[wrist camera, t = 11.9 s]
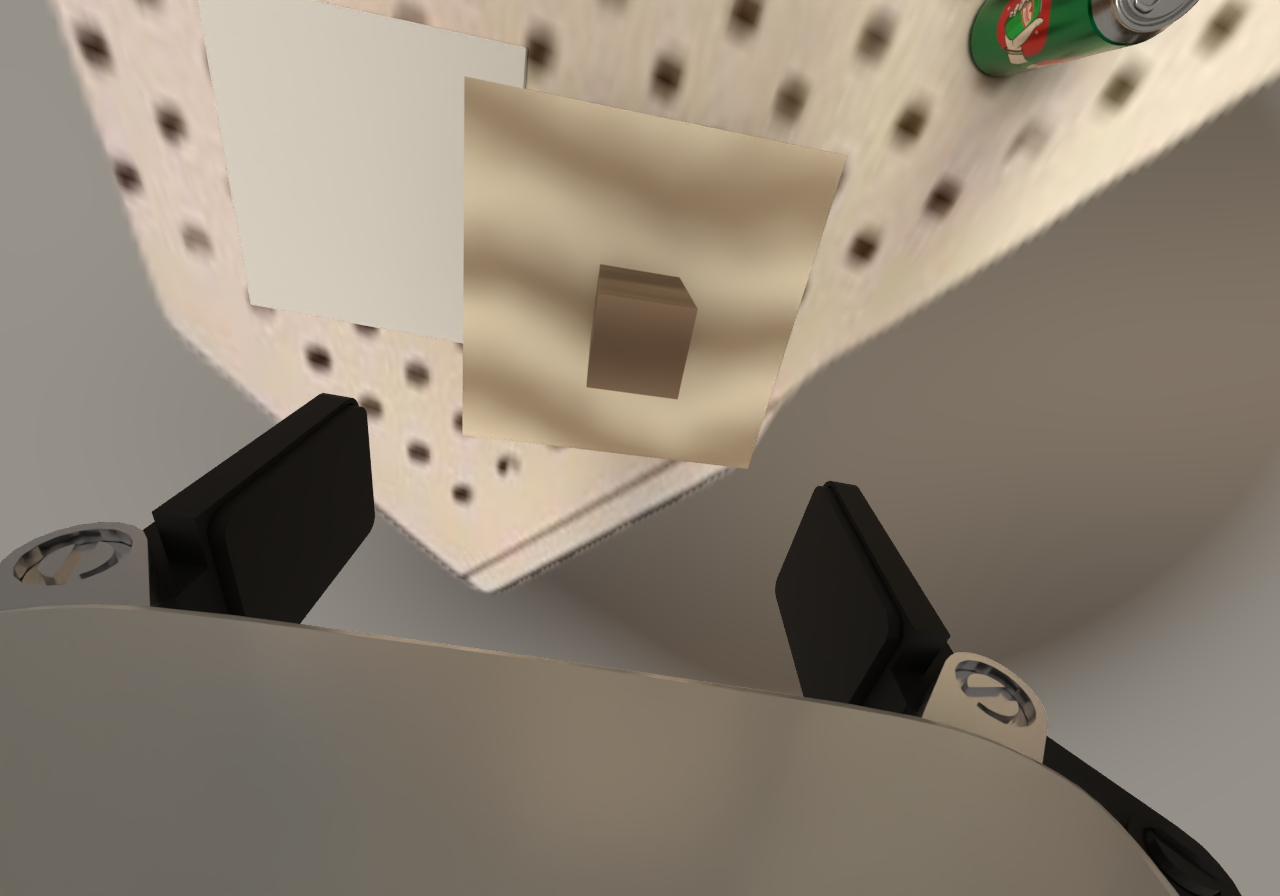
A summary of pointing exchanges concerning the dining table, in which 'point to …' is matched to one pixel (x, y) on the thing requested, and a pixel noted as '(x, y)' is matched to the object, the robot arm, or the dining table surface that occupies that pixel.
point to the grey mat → (348, 157)
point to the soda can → (1063, 30)
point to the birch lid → (629, 274)
